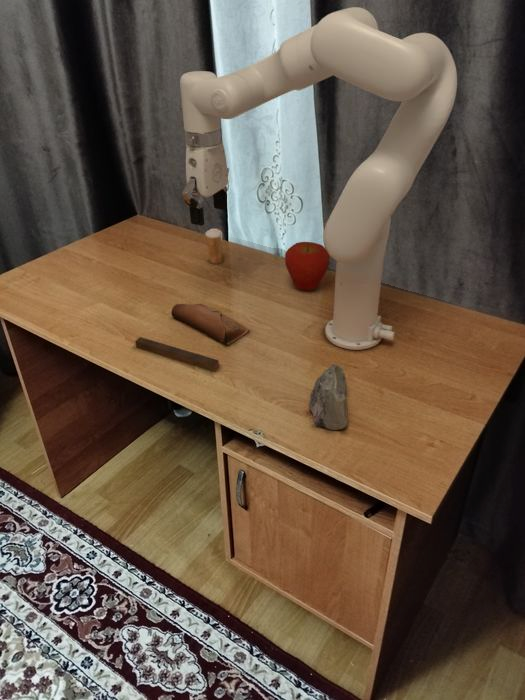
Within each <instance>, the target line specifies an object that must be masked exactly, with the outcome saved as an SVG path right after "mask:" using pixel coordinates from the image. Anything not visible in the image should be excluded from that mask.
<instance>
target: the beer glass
mask: <svg viewBox="0 0 525 700" xmlns="http://www.w3.org/2000/svg"><path fill="white" fill-rule="evenodd" d="M203 233H204V235H205V240H206V244H207V245H206V246H207V250H208V251H207V252H208V258H209V262H210V263H211V264H220V263H221V262H222V261H223V232H222V230H221V229H218V228H210V229H209V230H206V232H205V231H203Z"/></svg>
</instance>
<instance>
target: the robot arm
mask: <svg viewBox="0 0 525 700" xmlns="http://www.w3.org/2000/svg"><path fill="white" fill-rule="evenodd" d="M453 57H454V56H453V54H452V53H451V51H450V49H449V47H448V46H447V45H446V44H445V42H444V41H443V40H442V39H440V37H438V36H436V35H434V34H432V33H428V32H417V33H413V34H410V35H408V36H406V37H403V38H402V39H401V38H399V37H396V36H393V35H391V34H389V33H386V32H384V31H381V30H380V29H379V25H378V22H377V20H376V18H375V17H374V15H373V14H372V13H371V12H370V11H369V10H367V9H365V8H363V7H358V6H352V7H347V8H343V9H340V10H336V11H333V12H330V13H328V14H327V15H325V16H324V17H322V18H321V19H320V21H318V22H317V24H315V25H313V26H311V27H309V28H307V29H304V31H301V32H299V33H297V34H295V35H293V36H291V37H289V38H287V39H285V40H284V41H282V42H281V43H280V46H279V48H278V50H276V51H274V52H273V53H272V54H270V55H268V56H266V57H264V58H262V59H261V60H258V61H257V62H255V63H252V64H250V65H248V66H246V67H245V68H242V69H238V70H236V71H233V72H230V73H228V74H225V75H221V76H219V77H217V75H216V74H215V73H214V72H212V71H206V70H195V71H194V70H193V71H189V72H185V73H183V74H182V75H181V77H180V80H179V88H180V89H179V91H180V100H181V109H182V120H183V121H182V122H183V131H184V141H185V147H186V149H185V180H186V185H185V187H184V189H182V193H181V195H182V197H183V199H184V203H185V204H186V205H187V208H189V218H190V224H192V225H197V226H201V227H202V226H204V225H205V213H204V207H202V205H203V201H204V199H207V198H210V197H212V199H213V208H214V209H215V210H222V211H226V210H227V209H228V201H227V191H228V183H229V173H230V168H229V167H228V164H227V156H226V150H225V146H224V142H223V140H222V125H221V124H222V123H221V119H222V120H232V119H235V118H237V117H239V116H242V115H244V114H245V113H247V112H249V111H252V110H253V109H256V108H258V107H260V106H262V105H264V104H266V103H268V102H271V101H272V100H274V99H277V98H280V97H281V96H283V95H285V94H288V93H290V92H293V91H297V92H298V91H299V92H300V91H302V90H305V89H308V88H309V87H312V86H313V85H315V84H317V83H320V82H321V81H322V82H323V81H325V80H326V79H328V78H331V77H333V76H334V77H336V78H337V79H341V80H342V81H343V82H346V83H348V84H351V85H353V86H355V87H357V88H360V89H361V90H364V91H366V92H368V93H371V94H372V95H376V96H377V97H380V98H383V99H386V100H387V101H392V102H401V103H400V105H399V107H398V109H397V110H396V112H395V113H394V115H393V117H392V119H391V120H390V122H389V125H388V127H387V130H386V131H385V133H384V135H383V136H382V138H381V140H380V141H379V144H378V145H377V147H376V148H375V150H374V151H373V152H372V153H371V154H370V155H369V156H368V157H367V158H366V159H365V160H364V161H363V162H361V163H360V164H359V165H358V167H356V169H355V170H354V171H353V172H352V174H351V176H350V177H349V179H348V180H347V182H346V184H345V186H344V188H343V190H342V192H341V194H340V196H339V197H338V200H337V201H336V204H335V205H334V208H333V209H332V212H331V213H330V216H329V217H328V219H327V221H326V223H325V226H324V229H323V233H322V240H323V241H322V242H323V247H324V248H325V249H326V250H327V252H328V254H329V257H331V258H332V259H333V260H335V261H336V265H335V278H334V279H335V281H334V297H333V312H332V314H333V315H332V319H331V320H330V321H328V322H327V324H326V325H325V330H324V333H325V337H326V338H327V339H326V340H328V341H329V342H330V343H331V344H333V345H334V346H337V347H339V348H341V349H346V350H353V351H361V350H367V349H370V348H373V347H375V346H377V345H378V344H379V343H380V342H381V341H382V339H384V340H388V341H394V340H395V337H396V331H393V325H389V324H383V322H382V321H381V320H382V316H381V315H379V314H378V313H379V305H380V297H381V296H380V295H381V288H382V287H381V286H382V277H383V271H384V263H385V255H386V249H387V244H388V240H389V235H390V230H391V221H392V219H391V218H392V215H393V213H394V212H395V210H396V209H397V207H398V206H399V204H400V203H401V201H402V200H404V198H405V196H406V195H407V194H408V193H409V191H410V190H411V188H412V186H413V184H414V182H415V179H416V177H417V175H418V174H419V172H420V170H421V168H422V167H423V164H424V163H425V161H426V160H427V158H428V156H429V155H430V153H431V151H432V149H433V148H434V145H435V144H436V142H437V140H438V138H439V137H440V135H441V133H442V131H443V129H444V127H445V126H446V124H447V122H448V119H449V118H450V116H451V112H452V110H453V107H454V104H455V101H456V97H457V90H458V71H457V66H456V63H455V60H454V58H453ZM195 198H197V200H196V199H195Z"/></svg>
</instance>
